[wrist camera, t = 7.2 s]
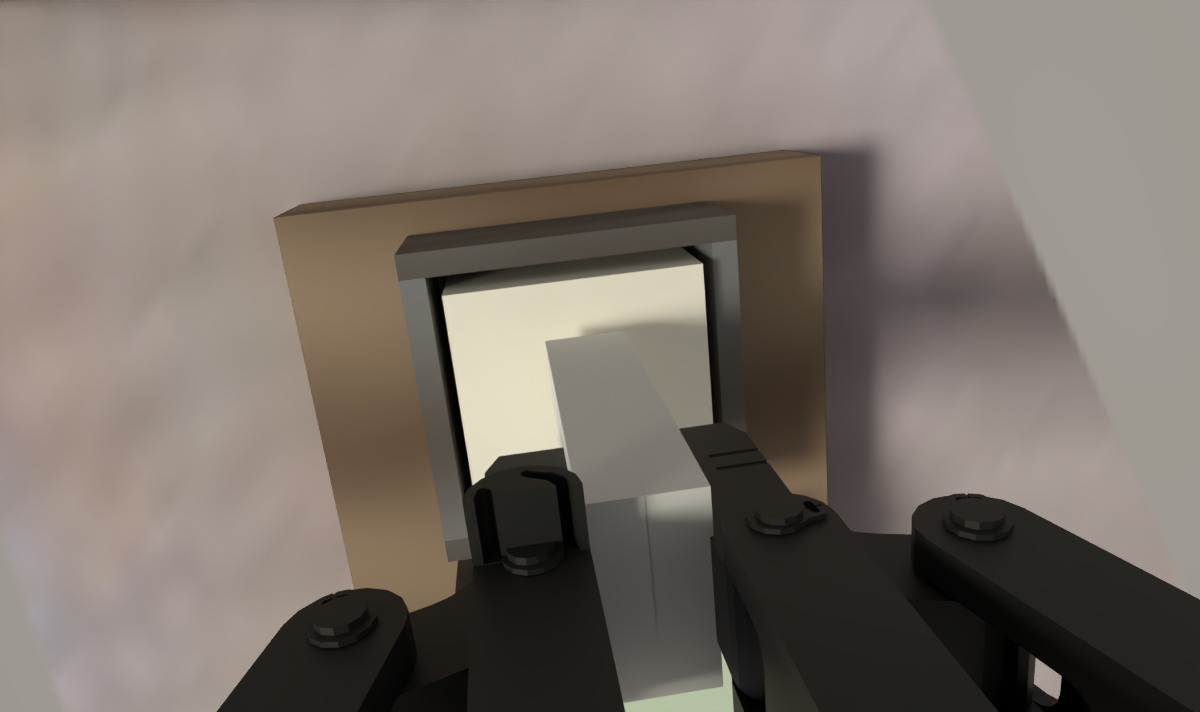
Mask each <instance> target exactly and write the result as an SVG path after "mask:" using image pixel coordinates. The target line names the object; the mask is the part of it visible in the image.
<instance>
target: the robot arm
mask: <svg viewBox="0 0 1200 712" xmlns="http://www.w3.org/2000/svg"><path fill="white" fill-rule="evenodd" d="M545 344H546V352H547V360H548V368H549V376H550V384H551V392H552V400H553V408H554V416H555V424H556V432H557V440H558V448H555V449H548V450H541V451H534V452H527V453H519V454H512V455H505V456H499V457H498V458H497V459H496V460H495V461H494V463H493V464H492V465H491V466H490V467H489V468H488V470H487V471H486V472H485V478H482V479H480V480H479V481H478V482H476V483H475V484H474V485H473V486H471V487H470V488H469V489H467V491H466V493H465V495H464V498H463V500H462V504H463V510H464V516H465V522H466V527H467V533H468V539H469V545H470V551H471V557H472V563H473V580H471V581H470V582H469V583H468V584H467V585H466V586H465V587H464V588H463V589H461V590H460V591H458V592H456V593H455V594H453V595H452V596H450V597H448V598H446V599H444V600H442V601H439V602H437V603H435V604H432V605H430V606H427V607H424V608H421V609H419V610H416V611H413V612H410V613H409V610H408V608H407V606H406V604H405V602H404V600H403V598H402V597H400V596H398V595H396V594H395V593H393V592H391V591H389V590H383V589H374V588H362V589H354V590H344V591H339V592H335V593H336V594H330V595H327V596H325V597H322V598H320V599H319V600H317V601H315V602H313V603H312V604H310V605H308V606H306V607H305V608H303V609H301V610H299V611H298V612H297V613H296V614H295V615H294V616H293V617H291V618H290V619H289V620H288V621H287V622H286V623H285V624H284V625H283V626H282V627H281V628H280V630H279V631H278V632H277V634H276V635H275V636H274V638H273V639H272V640H271V642H270V643H269V644H268V645H267V647H266V648H265V649H264V651H263V652H262V653H261V655H260V656H259V657H258V659H257V660H256V661H255V662H254V664H253V665H252V666H251V668H250V669H249V670H248V672H247V673H246V674H245V675H244V677H243V678H242V679H241V681H240V682H239V683H238V685H237V686H236V687H235V689H234V690H233V691H232V692H231V694H230V695H229V696H228V698H227V699H226V700H225V702H224V703H223V704H222V706H221V707H220V708H219V709H218V711H217V712H625V708H624V703H628V702H634V701H640V700H646V699H651V698H657V697H663V696H669V695H675V694H681V693H687V692H693V691H699V690H705V689H711V688H717V687H723V672H722V656H721V652H722V654H723V657H724V659H725V662H726V664H727V666H728V669H729V671H730V674H731V676H732V693H733V709H734V712H1200V600H1199V599H1198V598H1196V597H1194V596H1192V595H1190V594H1188V593H1186V592H1184V591H1182V590H1180V589H1178V588H1176V587H1174V586H1173V585H1171V584H1169V583H1167V582H1165V581H1163V580H1161V579H1159V578H1157V577H1155V576H1153V575H1151V574H1149V573H1148V572H1146V571H1144V570H1142V569H1140V568H1138V567H1136V566H1134V565H1132V564H1130V563H1128V562H1126V561H1125V560H1123V559H1121V558H1119V557H1117V556H1115V555H1113V554H1111V553H1109V552H1107V551H1105V550H1103V549H1101V548H1100V547H1098V546H1096V545H1094V544H1092V543H1090V542H1088V541H1086V540H1084V539H1082V538H1080V537H1078V536H1076V535H1075V534H1073V533H1071V532H1069V531H1067V530H1065V529H1063V528H1061V527H1059V526H1057V525H1055V524H1053V523H1051V522H1050V521H1048V520H1046V519H1044V518H1042V517H1040V516H1038V515H1036V514H1034V513H1032V512H1030V511H1028V510H1026V509H1025V508H1022V507H1020V506H1017V505H1014V504H1012V503H1009V502H1007V501H1004V500H1001V499H995V498H990V497H985V496H984V495H980V494H968V495H965V494H953V495H950V496H944V497H939V498H933V499H931V500H929V501H927V502H925V503H923V504H921V505H919V506H918V507H917V509H916V510H915V512H914V513H913V515H912V535H905V534H873V533H861V532H853V531H851V530H850V529H849V528H848V527H847V526H846V524H845V523H844V522H843V521H842V519H841V518H840V517H839V516H838V515H837V513H836V512H835V511H834V510H833V509H831V508H830V507H829V506H827V505H826V504H825V503H823V502H822V501H819V500H816V499H813V498H811V497H808V496H805V495H799V494H792V493H791V492H790V490H789V489H788V488H787V486H786V485H785V484H784V482H783V481H782V480H781V478H780V477H779V476H778V474H777V473H776V472H775V470H774V469H773V468H772V466H771V465H770V464H769V463H767V460H766V458H765V457H764V456H763V454H762V453H761V452H760V451H758V448H757V446H756V445H755V444H754V442H753V441H752V440H751V438H750V437H749V436H748V434H747V433H745V432H743V431H741V430H739V429H737V428H735V427H733V426H731V425H729V424H727V423H725V422H722V423H715V424H708V425H701V426H694V427H687V428H680V429H679V428H678V426H677V425H676V423H675V421H674V419H673V417H672V416H671V414H670V412H669V410H668V408H667V407H666V405H665V403H664V401H663V399H662V398H661V396H660V394H659V392H658V390H657V388H656V387H655V385H654V383H653V381H652V379H651V378H650V376H649V374H648V372H647V370H646V369H645V367H644V365H643V363H642V361H641V360H640V358H639V356H638V354H637V352H636V351H635V349H634V347H633V345H632V343H631V342H630V340H629V338H628V336H627V334H626V333H625V331H618V332H610V333H603V334H595V335H587V336H580V337H572V338H564V339H556V340H549V341H545ZM1036 658H1037V659H1039V660H1040V661H1041V662H1043V663H1044V664H1046V665H1047V666H1048V667H1050V668H1051V669H1053V670H1054V671H1055V672H1057V673H1058V674H1060V675H1061V676H1062V680H1061V691H1060V696H1059V699H1056V698H1054V697H1052V696H1050V695H1048V694H1047V693H1045V692H1044V691H1043V690H1041V689H1040V688H1039V687H1037V686H1036V685H1034V673H1035V659H1036Z"/></svg>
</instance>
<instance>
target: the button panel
mask: <svg viewBox="0 0 1200 712" xmlns="http://www.w3.org/2000/svg"><path fill="white" fill-rule="evenodd" d="M273 219H274V223H275V228H276V233H277V237H278V242H279V246H280V251H281V255H282V260H283V265H284V269H285V274H286V278H287V283H288V288H289V292H290V297H291V301H292V306H293V310H294V315H295V320H296V324H297V329H298V333H299V338H300V343H301V347H302V352H303V356H304V361H305V365H306V370H307V375H308V379H309V384H310V388H311V393H312V398H313V402H314V407H315V411H316V416H317V420H318V425H319V430H320V434H321V439H322V443H323V448H324V453H325V457H326V462H327V466H328V471H329V475H330V480H331V485H332V489H333V494H334V498H335V503H336V508H337V512H338V517H339V521H340V526H341V530H342V535H343V540H344V544H345V549H346V553H347V558H348V563H349V567H350V572H351V576H352V581H353V585H354V589H362V588H374V589H383V590H389V591H391V592H393V593H395V594H396V595H398V596H400V597H402V598H403V600H404V602H405V604H406V606H407V608H408V610H409V613H410V612H413V611H416V610H419V609H421V608H424V607H427V606H430V605H432V604H435V603H437V602H439V601H442V600H444V599H446V598H448V597H450V596H452V595H453V594H455V593H456V592H458V591H460V590H461V589H463V588H464V587H465V586H466V585H467V584H468V583H469V582H470V581H471V580H473V563H472V557H471V551H470V545H469V539H468V533H467V527H466V522H465V516H464V510H463V504H462V500H463V498H464V495H465V493H466V491H467V489H469V488H470V487H471V486H473V485H472V479H471V473H470V467H469V460H468V454H467V448H466V442H465V436H464V430H463V423H462V417H461V411H460V405H459V399H458V392H457V386H456V380H455V374H454V368H453V362H452V355H451V349H450V343H449V337H448V331H447V324H446V318H445V312H444V306H443V300H442V294H443V290H444V287H445V283H446V280H447V277H448V275H454V274H462V273H470V272H479V271H487V270H495V269H503V268H511V267H520V266H528V265H536V264H544V263H552V262H561V261H569V260H577V259H585V258H593V257H602V256H610V255H618V254H626V253H634V252H643V251H651V250H659V249H667V248H675V247H682V248H683V249H684V250H686V251H687V252H688V253H689V254H691V255H692V256H693V257H695V258H696V259H697V260H699V261H700V262H701V263H703V273H704V289H705V304H706V320H707V336H708V351H709V367H710V383H711V398H712V414H713V424H715V423H722V422H725V423H727V424H729V425H731V426H733V427H735V428H737V429H739V430H741V431H743V432H745V433H747V434H748V436H749V437H750V438H751V440H752V441H753V442H754V444H755V445H756V446H757V448H758V451H760V452H761V453H762V454H763V456H764V457H765V458H766V460H767V463H769V464H770V465H771V466H772V468H773V469H774V470H775V472H776V473H777V474H778V476H779V477H780V478H781V480H782V481H783V482H784V484H785V485H786V486H787V488H788V489H789V490H790V492H791V493H792V494H799V495H805V496H808V497H811V498H813V499H816V500H819V501H822V502H823V503H825V504H826V505H827V458H826V407H825V357H824V306H823V256H822V205H821V156H820V155H813V154H807V153H800V152H793V151H787V150H780V151H771V152H762V153H753V154H744V155H735V156H727V157H718V158H709V159H700V160H691V161H682V162H673V163H665V164H656V165H647V166H638V167H629V168H620V169H611V170H603V171H594V172H585V173H576V174H567V175H558V176H550V177H541V178H532V179H523V180H514V181H505V182H496V183H488V184H479V185H470V186H461V187H452V188H443V189H435V190H426V191H417V192H408V193H399V194H390V195H381V196H373V197H364V198H355V199H346V200H337V201H328V202H319V203H311V204H302V205H298V206H296V207H294V208H292V209H290V210H288V211H286V212H284V213H282V214H280V215H278V216H276V217H274V218H273Z"/></svg>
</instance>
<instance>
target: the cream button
mask: <svg viewBox="0 0 1200 712" xmlns="http://www.w3.org/2000/svg"><path fill="white" fill-rule="evenodd" d="M442 300H443V306H444V312H445V318H446V324H447V331H448V337H449V343H450V349H451V355H452V362H453V368H454V374H455V380H456V386H457V392H458V399H459V405H460V411H461V417H462V423H463V430H464V436H465V442H466V448H467V454H468V460H469V467H470V473H471V479H472V485H474V484H475V483H476V482H478V481H479V480H480V479H482V478H485V472H486V471H487V470H488V468H489V467H490V466H491V465H492V464H493V463H494V461H495V460H496V459H497V458H498V457H499V456H505V455H512V454H519V453H527V452H534V451H541V450H548V449H555V448H558V440H557V432H556V424H555V416H554V408H553V400H552V392H551V384H550V376H549V368H548V360H547V352H546V344H545V341H549V340H556V339H564V338H572V337H580V336H587V335H595V334H603V333H610V332H618V331H625V333H626V334H627V336H628V338H629V340H630V342H631V343H632V345H633V347H634V349H635V351H636V352H637V354H638V356H639V358H640V360H641V361H642V363H643V365H644V367H645V369H646V370H647V372H648V374H649V376H650V378H651V379H652V381H653V383H654V385H655V387H656V388H657V390H658V392H659V394H660V396H661V398H662V399H663V401H664V403H665V405H666V407H667V408H668V410H669V412H670V414H671V416H672V417H673V419H674V421H675V423H676V425H677V426H678V428H679V429H680V428H687V427H694V426H701V425H708V424H713V414H712V398H711V383H710V367H709V351H708V336H707V320H706V304H705V289H704V273H703V263H701V262H700V261H699V260H697V259H696V258H695V257H693V256H692V255H691V254H689V253H688V252H687V251H686V250H684V249H683V248H682V247H675V248H667V249H659V250H651V251H643V252H634V253H626V254H618V255H610V256H602V257H593V258H585V259H577V260H569V261H561V262H552V263H544V264H536V265H528V266H520V267H511V268H503V269H495V270H487V271H479V272H470V273H462V274H454V275H448V277H447V280H446V283H445V287H444V290H443V294H442Z"/></svg>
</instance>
